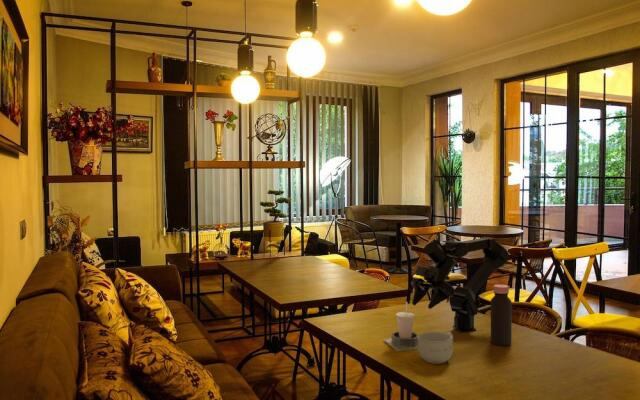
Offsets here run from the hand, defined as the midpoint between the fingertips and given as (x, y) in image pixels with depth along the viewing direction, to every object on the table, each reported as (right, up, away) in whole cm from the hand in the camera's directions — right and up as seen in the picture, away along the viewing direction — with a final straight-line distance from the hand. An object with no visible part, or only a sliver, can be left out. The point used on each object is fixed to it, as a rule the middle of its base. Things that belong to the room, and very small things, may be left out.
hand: (420, 306), depth 177 cm
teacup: (+2, -13, -19) cm, 23 cm away
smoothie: (-6, -12, -4) cm, 14 cm away
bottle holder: (-6, -12, -4) cm, 14 cm away
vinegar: (+27, -12, -4) cm, 30 cm away
